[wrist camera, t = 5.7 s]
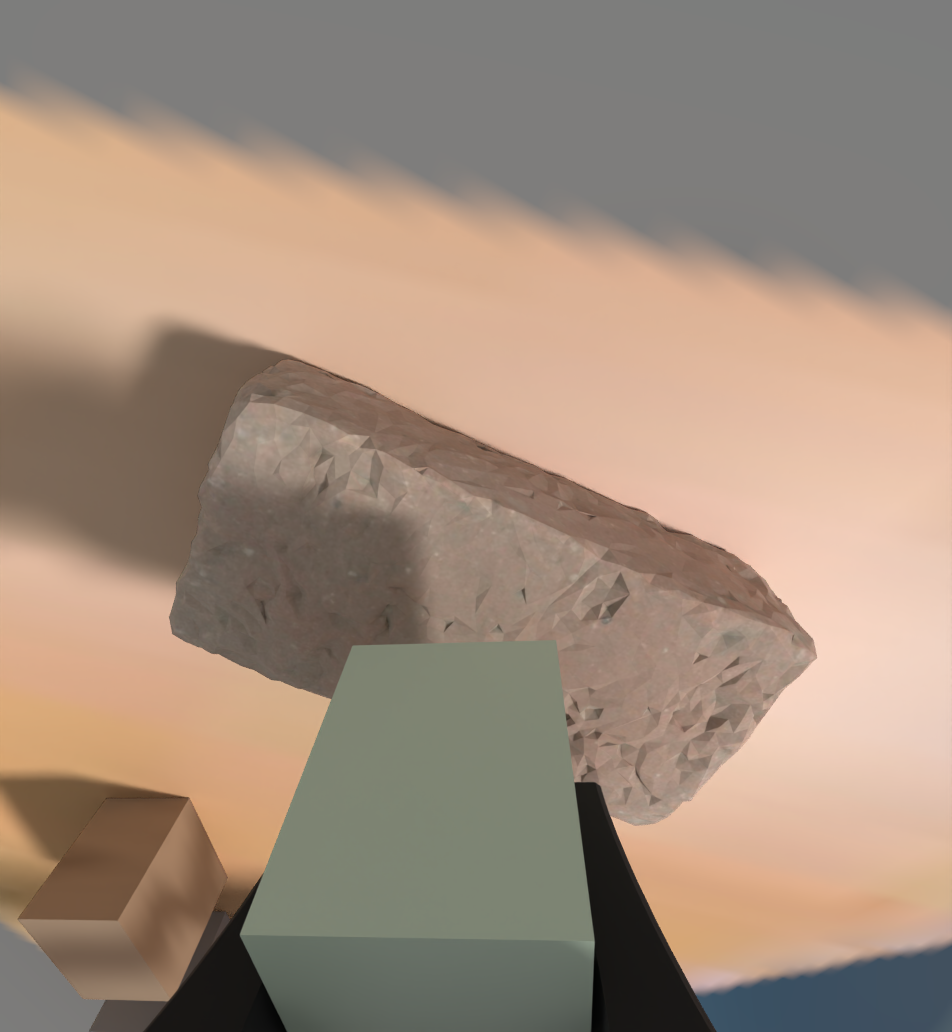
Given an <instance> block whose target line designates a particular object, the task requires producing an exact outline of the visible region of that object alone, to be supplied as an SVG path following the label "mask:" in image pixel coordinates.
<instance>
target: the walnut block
mask: <svg viewBox="0 0 952 1032" xmlns="http://www.w3.org/2000/svg"><path fill="white" fill-rule="evenodd" d="M227 878H228V877H227V875H226V873H225V870H224V868H223V866H222V864H221V862H220V860H219V858H218V856H217V854H216V852H215V850H214V848H213V846H212V844H211V841H210V839H209V837H208V835H207V833H206V831H205V829H204V827H203V825H202V823H201V821H200V819H199V817H198V814H197V812H196V810H195V808H194V806H193V804H192V802H191V800H190V798H106V800H105V801H104V802H103V804H102V805H101V806H100V808H99V809H98V810H97V812H96V813H95V814H94V816H93V817H92V819H91V820H90V821H89V823H88V824H87V825H86V827H85V828H84V829H83V831H82V832H81V833H80V835H79V836H78V838H77V839H76V840H75V842H74V843H73V844H72V846H71V847H70V848H69V850H68V851H67V853H66V854H65V855H64V857H63V858H62V859H61V861H60V862H59V863H58V865H57V866H56V867H55V869H54V870H53V872H52V873H51V874H50V876H49V877H48V878H47V880H46V881H45V882H44V884H43V885H42V886H41V888H40V889H39V891H38V892H37V893H36V895H35V896H34V897H33V899H32V900H31V901H30V903H29V904H28V906H27V907H26V908H25V910H24V911H23V912H22V914H21V915H20V916H19V918H18V920H19V922H20V923H21V924H22V925H23V927H24V928H25V929H26V930H27V931H28V933H29V934H30V935H31V936H32V937H33V939H34V940H35V941H36V942H37V944H38V945H39V946H40V947H41V948H42V950H43V951H44V952H45V953H46V955H47V956H48V957H49V958H50V959H51V961H52V962H53V963H54V964H55V966H56V967H57V968H58V969H59V970H60V972H61V973H62V974H63V975H64V976H65V978H66V979H67V980H68V981H69V983H70V984H71V985H72V986H73V987H74V988H75V990H76V991H77V992H78V994H79V995H80V996H81V997H82V998H83V999H102V1000H137V1001H169V1000H170V998H171V997H172V996H173V995H174V993H175V992H176V991H177V990H178V988H179V985H180V983H181V981H182V979H183V976H184V974H185V972H186V970H187V968H188V965H189V963H190V961H191V959H192V956H193V954H194V952H195V950H196V948H197V945H198V943H199V941H200V939H201V936H202V934H203V932H204V930H205V927H206V925H207V923H208V921H209V919H210V916H211V914H212V912H213V910H214V907H215V905H216V903H217V901H218V898H219V896H220V894H221V892H222V890H223V887H224V885H225V883H226V881H227Z"/></svg>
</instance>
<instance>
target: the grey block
mask: <svg viewBox="0 0 952 1032" xmlns="http://www.w3.org/2000/svg"><path fill="white" fill-rule="evenodd" d="M229 921H230V919H229V917H228V915H227V913H226V912H217V911H213V912H212V914H211V916H210V919H209V921H208V923H207V925H206V927H205V930H204V932H203V934H202V936H201V939H200V941H199V943H198V945H197V948H196V950H195V952H194V954H193V956H192V959H191V961H190V963H189V965H188V968H187V970H186V972H185V974H184V976H183V979H182V981H181V983H180V985H179V987H180V986H181V985H182V983H183V982H184V981H185V980H186V978H187V977H188V976H189V975H190V973H191V972H192V971H193V969H194V968H195V967H196V966H197V964H198V963H199V962H200V960H201V959H202V958H203V956H204V955H205V954H206V952H207V951H208V950H209V948H210V947H211V946H212V944H213V943H214V942H215V940H216V939H217V937H218V936H219V935H220V933H221V932H222V931H223V929H224V928H225V927H226V925H227V924H228V923H229ZM167 1002H168V1001H137V1000H105V1002H104V1004H103V1006H102V1008H101V1010H100V1012H99V1014H98V1015H97V1017H96V1019H95V1021H94V1023H93V1025H92V1026H91V1029H90V1030H89V1032H143V1031H144V1030H145V1029H146V1028H147V1026H148V1025H149V1024H150V1023H151V1021H152V1020H153V1019H154V1018H155V1017H156V1015H157V1014H158V1013H159V1012H160V1011H161V1009H162V1008H163V1007H164V1006H165V1005H166V1003H167Z"/></svg>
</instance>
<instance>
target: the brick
mask: <svg viewBox="0 0 952 1032" xmlns="http://www.w3.org/2000/svg"><path fill="white" fill-rule="evenodd" d="M208 467H209V470H208V472H207V474H206V476H205V478H204V480H203V482H202V484H201V486H200V489H199V492H198V498H199V501H200V504H201V507H202V508H201V511H200V514H199V517H198V529H197V534H196V536H195V538H194V539H193V541H192V543H191V552H190V556H189V559H188V562H187V565H186V567H185V569H184V570H183V572H182V574H181V575H180V577H179V579H178V581H177V582H176V596H175V600H174V603H173V606H172V610H171V613H170V616H169V619H170V624H171V629H172V634H173V635H175V636H177V637H178V638H180V639H182V640H183V641H185V642H187V643H190V644H192V645H195V646H197V647H201V648H203V649H204V650H206V651H208V652H210V653H212V654H220V655H221V656H223V657H225V658H227V659H229V660H231V661H233V662H235V663H237V664H239V665H241V666H243V667H246V668H249V669H253V670H255V671H257V672H258V673H260V674H262V675H264V676H265V677H267V678H269V679H271V680H276V681H281V682H284V683H286V684H288V685H291V686H293V687H295V688H298V689H304V690H306V691H309V692H312V693H315V694H318V695H320V696H323V697H326V698H330V699H332V697H333V694H334V692H335V689H336V687H337V684H338V682H339V679H340V676H341V674H342V671H343V669H344V666H345V664H346V661H347V659H348V656H349V653H350V651H351V648H352V646H353V645H390V644H428V643H466V642H503V641H541V640H556V644H557V651H558V659H559V667H560V675H561V683H562V690H563V698H564V706H565V714H566V722H567V729H568V737H569V745H570V753H571V761H572V768H573V776H574V782H596V783H597V784H598V785H600V786H601V789H602V792H603V796H604V799H605V802H606V805H607V808H608V811H609V814H610V816H612V817H615V818H617V819H620V820H622V821H625V822H627V823H630V824H632V825H635V826H638V825H648V824H654V823H657V822H659V821H661V820H663V819H665V818H667V817H668V816H669V815H670V814H671V813H673V812H674V811H675V810H676V809H677V808H678V807H679V806H680V804H681V803H682V802H684V801H691V800H692V799H693V797H694V796H695V795H696V793H697V792H698V790H699V789H700V788H701V787H702V786H703V785H704V784H705V783H706V782H707V781H708V780H709V779H710V778H711V777H712V776H713V775H714V774H715V772H716V771H717V770H718V769H719V768H720V767H721V765H723V764H724V763H725V762H726V761H727V760H728V759H729V758H731V757H732V756H733V755H734V754H735V753H736V752H737V751H738V750H739V749H740V748H741V747H742V746H743V745H744V743H745V742H746V741H747V740H748V739H749V737H750V736H751V734H752V733H753V731H754V729H755V728H756V726H757V725H758V723H759V722H760V721H761V719H762V718H763V717H764V716H765V714H766V713H767V712H768V710H769V709H770V708H771V706H772V705H773V703H774V702H775V701H776V699H777V698H778V696H779V695H780V694H781V692H782V691H783V690H784V689H785V688H786V687H787V686H788V685H790V684H791V683H792V682H793V681H794V680H795V679H797V678H798V677H799V676H800V675H801V674H802V673H803V672H804V671H805V670H806V669H807V668H808V666H809V665H810V664H811V663H812V662H813V661H814V660H815V659H816V658H817V655H816V650H815V646H814V641H813V639H812V638H811V637H810V636H809V635H808V633H807V632H806V631H805V630H804V629H803V628H802V627H801V626H800V625H799V624H798V623H797V622H796V621H795V619H794V617H793V616H792V614H791V612H790V610H789V608H788V606H787V605H785V604H784V603H782V600H781V599H779V598H777V596H776V595H775V593H774V592H773V591H772V590H771V589H770V587H769V585H768V584H767V582H766V580H764V579H763V578H762V577H761V576H760V575H759V574H758V573H757V572H756V571H755V570H754V569H753V568H752V567H751V566H750V565H748V564H745V563H744V562H743V561H741V560H740V559H739V558H738V557H736V556H735V555H734V554H731V553H728V552H726V551H723V550H721V549H718V548H716V547H714V546H712V545H710V544H708V543H706V542H703V541H702V540H700V539H698V538H697V537H695V536H693V535H688V534H680V533H673V532H667V531H666V530H665V529H664V528H663V527H661V525H660V524H659V522H658V521H657V520H656V519H655V518H654V517H652V516H651V515H649V514H648V513H646V512H642V511H638V510H634V509H630V508H627V507H625V506H623V505H621V504H619V503H617V502H615V501H612V500H610V499H607V498H605V497H603V496H601V495H599V494H597V493H595V492H592V491H589V490H587V489H585V488H582V487H580V486H579V485H577V484H576V483H574V482H572V481H570V480H568V479H566V478H563V477H559V476H555V475H550V474H547V473H546V472H544V471H543V470H541V469H539V468H538V467H536V466H534V465H532V464H529V463H526V462H523V461H520V460H518V459H516V458H513V457H510V456H508V455H504V454H501V453H499V452H497V451H496V450H494V449H492V448H490V447H488V446H485V445H483V444H481V443H479V442H477V441H474V440H473V439H471V438H469V437H467V436H464V435H462V434H460V433H456V432H453V431H450V430H448V429H445V428H442V427H439V426H437V425H434V424H432V423H430V422H429V421H427V420H426V419H424V418H423V417H421V416H420V415H418V414H416V413H415V412H413V411H411V410H409V409H406V408H404V407H401V406H399V405H397V404H396V403H394V402H393V401H391V400H389V399H388V398H386V397H384V396H382V395H380V394H378V393H377V392H374V391H372V390H370V389H368V388H366V387H363V386H361V385H358V384H355V383H351V382H347V381H345V380H342V379H340V378H338V377H335V376H333V375H332V374H330V373H328V372H326V371H323V370H320V369H318V368H315V367H312V366H309V365H306V364H304V363H302V362H299V361H294V360H289V359H286V360H281V361H280V362H279V363H277V364H276V365H275V366H270V367H269V368H267V369H266V370H264V371H263V372H262V373H259V374H257V375H256V376H254V377H252V378H251V379H249V380H248V381H247V382H246V383H245V384H244V385H243V386H242V387H241V388H240V389H239V391H238V393H237V395H236V397H235V399H234V402H233V405H231V408H230V411H229V414H228V417H227V420H226V423H225V426H224V429H223V432H222V435H221V438H220V441H219V444H218V446H217V448H216V450H215V452H214V453H213V455H212V457H211V459H210V461H209V463H208Z"/></svg>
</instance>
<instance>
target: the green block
mask: <svg viewBox="0 0 952 1032" xmlns="http://www.w3.org/2000/svg"><path fill="white" fill-rule="evenodd" d="M240 937H241V939H242V941H243V943H244V945H245V947H246V949H247V951H248V953H249V955H250V957H251V959H252V961H253V963H254V965H255V967H256V969H257V971H258V973H259V975H260V977H261V980H262V982H263V984H264V986H265V988H266V990H267V992H268V994H269V996H270V998H271V1000H272V1002H273V1004H274V1006H275V1008H276V1010H277V1012H278V1014H279V1016H280V1018H281V1020H282V1022H283V1024H284V1026H285V1028H286V1030H287V1032H591V1018H592V993H593V969H594V945H595V940H594V932H593V924H592V917H591V909H590V901H589V893H588V885H587V878H586V870H585V862H584V854H583V846H582V839H581V831H580V823H579V815H578V807H577V800H576V792H575V784H574V776H573V768H572V761H571V753H570V745H569V737H568V729H567V722H566V714H565V706H564V698H563V690H562V683H561V675H560V667H559V659H558V651H557V644H556V640H541V641H503V642H466V643H428V644H390V645H353V646H352V648H351V651H350V653H349V656H348V659H347V661H346V664H345V666H344V669H343V671H342V674H341V676H340V679H339V682H338V684H337V687H336V689H335V692H334V694H333V697H332V700H331V702H330V705H329V707H328V710H327V712H326V715H325V717H324V720H323V723H322V725H321V728H320V730H319V733H318V735H317V738H316V741H315V743H314V746H313V748H312V751H311V753H310V756H309V758H308V761H307V764H306V766H305V769H304V771H303V774H302V776H301V779H300V782H299V784H298V787H297V789H296V792H295V794H294V797H293V799H292V802H291V805H290V807H289V810H288V812H287V815H286V817H285V820H284V823H283V825H282V828H281V830H280V833H279V835H278V838H277V840H276V843H275V846H274V848H273V851H272V853H271V856H270V858H269V861H268V864H267V866H266V869H265V871H264V874H263V876H262V879H261V881H260V884H259V887H258V889H257V892H256V894H255V897H254V899H253V902H252V905H251V907H250V910H249V912H248V915H247V917H246V920H245V922H244V925H243V928H242V930H241V933H240Z"/></svg>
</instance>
